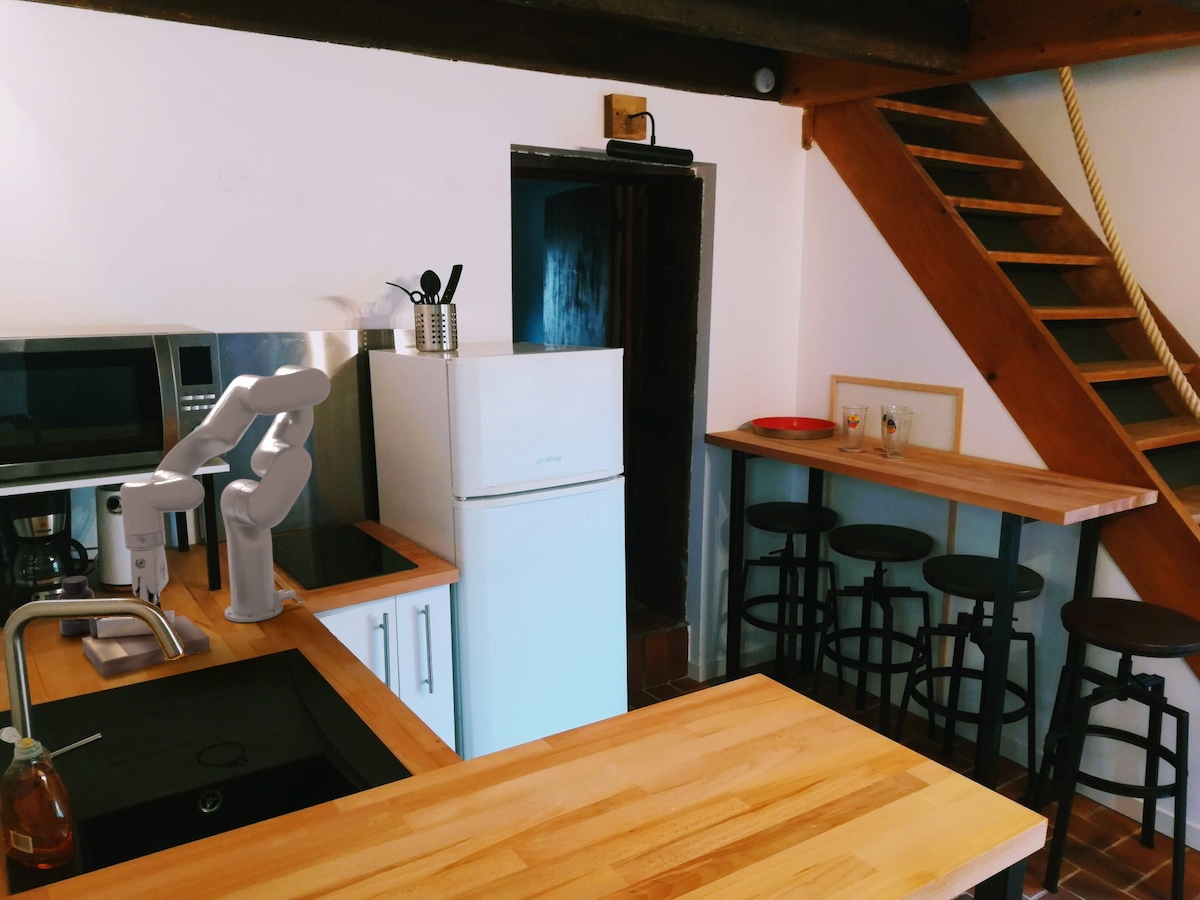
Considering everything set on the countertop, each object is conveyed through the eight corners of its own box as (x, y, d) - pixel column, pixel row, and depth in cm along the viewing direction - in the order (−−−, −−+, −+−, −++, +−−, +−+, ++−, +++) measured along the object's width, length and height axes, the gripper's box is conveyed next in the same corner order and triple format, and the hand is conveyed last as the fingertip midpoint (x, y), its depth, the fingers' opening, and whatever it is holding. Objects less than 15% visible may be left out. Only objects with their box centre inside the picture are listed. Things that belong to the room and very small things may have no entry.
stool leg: (89, 639, 181) (87, 620, 180) (93, 633, 184) (91, 615, 183) (172, 632, 184) (170, 614, 184) (175, 627, 187) (174, 609, 187)
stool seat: (185, 627, 196) (183, 614, 196) (210, 650, 184) (208, 635, 184) (83, 652, 183) (82, 637, 182) (103, 677, 171) (102, 662, 171)
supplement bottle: (64, 640, 189) (58, 586, 187) (58, 630, 194) (52, 578, 192) (100, 632, 193) (94, 580, 191) (93, 623, 198) (88, 572, 196)
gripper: (155, 547, 178) (163, 633, 182) (173, 528, 193) (180, 607, 196) (114, 550, 177) (123, 636, 180) (135, 529, 191) (143, 610, 195)
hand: (152, 621), depth 188 cm, fingers closed
